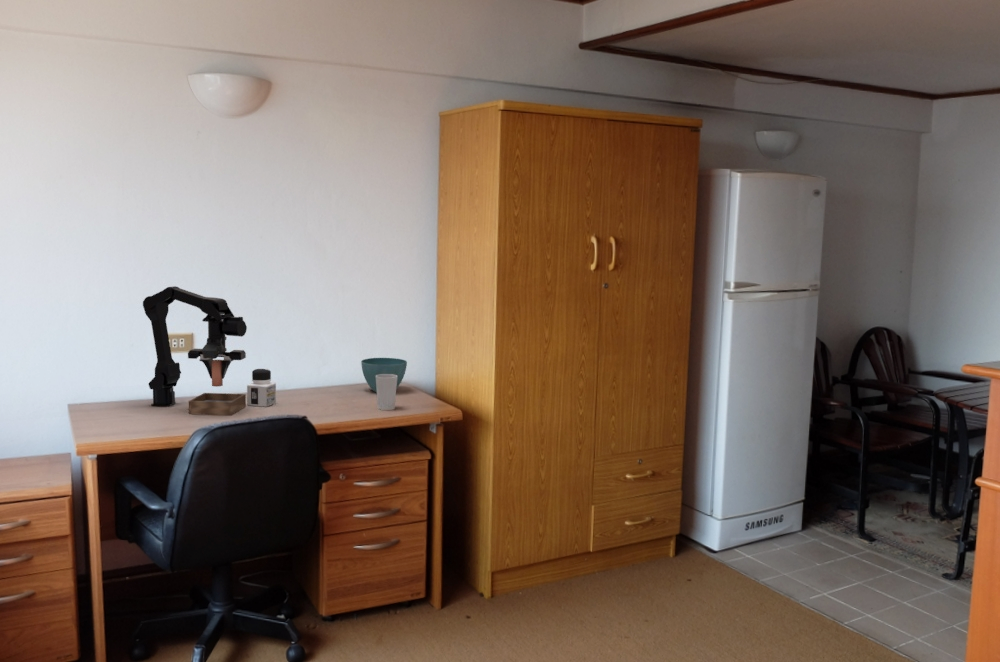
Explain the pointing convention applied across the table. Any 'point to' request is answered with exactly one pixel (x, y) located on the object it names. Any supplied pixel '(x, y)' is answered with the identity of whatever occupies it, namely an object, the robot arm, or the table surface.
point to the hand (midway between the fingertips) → (217, 378)
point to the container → (261, 389)
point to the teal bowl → (382, 369)
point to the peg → (217, 373)
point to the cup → (386, 391)
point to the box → (217, 404)
